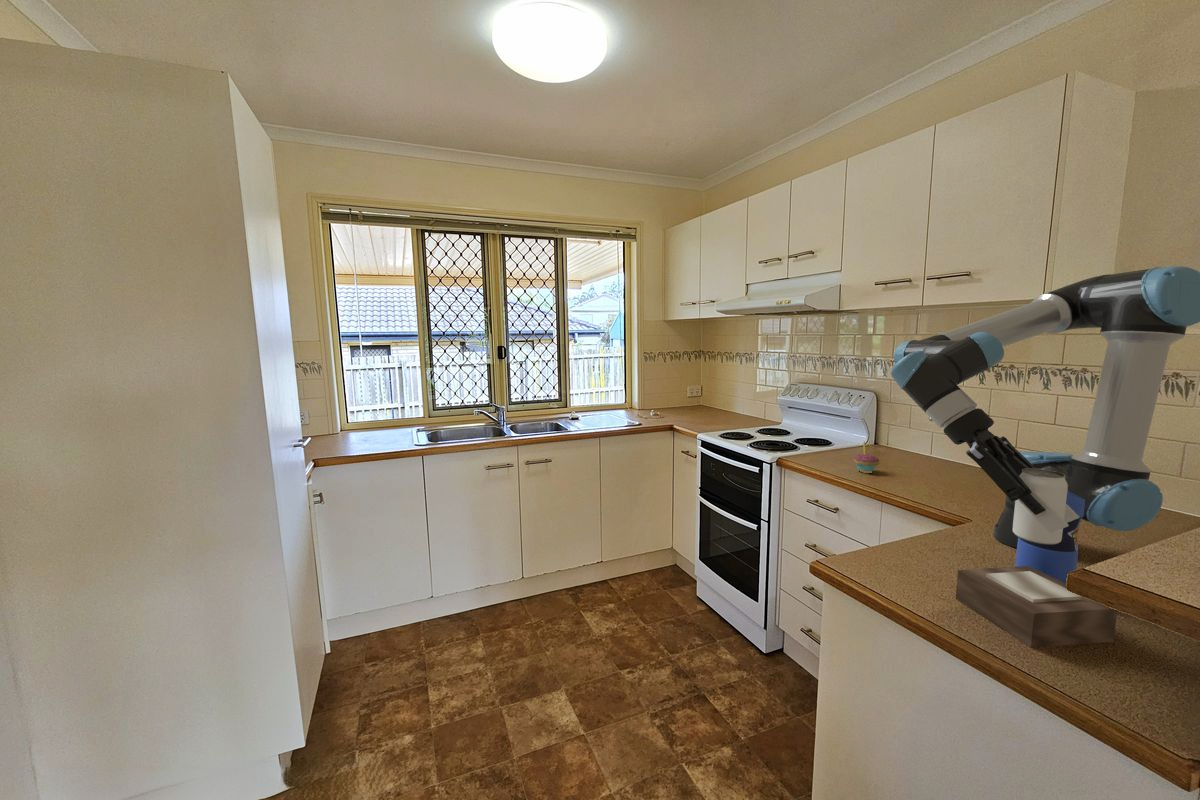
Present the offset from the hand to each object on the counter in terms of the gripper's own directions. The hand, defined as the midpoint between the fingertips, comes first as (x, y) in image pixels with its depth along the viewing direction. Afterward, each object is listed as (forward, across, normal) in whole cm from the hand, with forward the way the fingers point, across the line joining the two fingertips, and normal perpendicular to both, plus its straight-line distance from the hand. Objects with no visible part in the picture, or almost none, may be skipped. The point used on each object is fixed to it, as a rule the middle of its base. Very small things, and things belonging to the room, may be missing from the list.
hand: (1065, 524), depth 80 cm
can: (0, 0, -5) cm, 5 cm away
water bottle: (+9, -19, -18) cm, 27 cm away
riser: (+11, 0, -16) cm, 19 cm away
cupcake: (-36, -74, -63) cm, 104 cm away
